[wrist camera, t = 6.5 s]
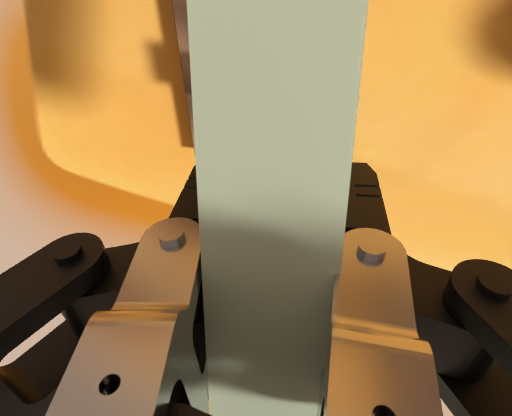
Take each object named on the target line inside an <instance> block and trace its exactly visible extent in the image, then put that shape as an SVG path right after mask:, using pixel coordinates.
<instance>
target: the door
mask: <svg viewBox="0 0 512 416" xmlns="http://www.w3.org/2000/svg"><path fill="white" fill-rule="evenodd" d="M367 10H368V0H187V17H188V35H189V53H190V71H191V89H192V107H193V125H194V143H195V161H196V179H197V197H198V215H199V233H200V251H201V270H202V288H203V306H204V324H205V342H206V357H207V367H208V385H207V393H208V399H209V413H210V415H212V416H317V409H318V400H319V391H320V382H321V375H322V369H324V367H325V361H326V355H327V346H328V337H329V325H330V313H331V301H332V292H333V285H334V277H335V274H341V266H342V256H343V246H344V236H345V226H346V216H347V207H348V197H349V187H350V177H351V167H352V157H353V147H354V138H355V128H356V118H357V108H358V98H359V88H360V79H361V69H362V59H363V49H364V39H365V29H366V19H367Z"/></svg>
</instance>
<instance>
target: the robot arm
mask: <svg viewBox="0 0 512 416" xmlns="http://www.w3.org/2000/svg"><path fill="white" fill-rule="evenodd" d="M60 313H62V315H63V316H64V317H65V319H66V320H65V321H64V322H63V323H62V324H60V325H59V326H58V327H56V328H55V329H54V330H53V331H52V332H50V333H49V334H48V335H46V336H45V337H44V338H43V339H41V340H40V341H39V342H38V343H36V344H35V345H34V346H33V347H31V348H30V349H29V350H28V351H27V352H25V353H24V354H23V355H21V356H20V357H19V358H17V359H16V360H15V361H13V362H12V363H10V364H8V365H5V366H2V367H0V416H212V415H209V414H208V393H207V385H208V367H207V357H206V342H205V324H204V306H203V288H202V270H201V251H200V233H199V215H198V197H197V179H196V165H195V166H194V168H193V170H192V172H191V174H190V176H189V180H187V182H186V184H185V186H184V189H183V190H182V192H181V194H180V196H179V198H178V200H177V202H176V204H175V206H174V208H173V210H172V212H171V214H170V216H169V218H168V219H165V220H162V221H159V222H157V223H155V224H153V225H152V226H151V227H149V228H148V229H147V230H146V231H145V233H144V234H143V236H142V237H141V240H140V242H138V243H134V244H129V245H123V246H118V247H112V248H106V249H105V247H104V245H103V243H102V241H101V240H100V238H99V237H97V236H96V235H93V234H90V233H74V234H70V235H66V236H63V237H61V238H59V239H57V240H55V241H53V242H51V243H50V244H48V245H47V246H45V247H43V248H42V249H40V250H38V251H37V252H35V253H34V254H32V255H31V256H29V257H27V258H26V259H24V260H23V261H21V262H20V263H18V264H16V265H15V266H13V267H11V268H10V269H8V270H7V271H5V272H3V273H2V274H0V362H1V360H2V359H3V358H4V357H5V356H6V355H7V354H8V353H9V352H10V351H12V350H13V349H14V348H16V347H17V346H18V345H20V344H21V343H22V342H23V341H24V340H26V339H27V338H28V337H30V336H31V335H32V334H34V333H35V332H36V331H38V330H39V329H40V328H42V327H43V326H44V325H45V324H46V323H48V322H49V321H51V320H52V319H53V318H54V317H56V316H57V315H58V314H60ZM440 398H441V399H442V400H443V402H444V403H445V404H446V406H447V407H448V408H449V409H450V411H451V412H452V414H453V415H454V416H512V270H511V269H510V268H508V267H506V266H504V265H501V264H498V263H496V262H492V261H488V260H481V259H472V260H466V261H463V262H461V263H459V264H458V265H456V266H455V268H454V269H453V271H452V272H451V271H448V270H445V269H441V268H438V267H435V266H431V265H428V264H425V263H422V262H420V261H417V260H415V259H413V258H412V257H410V256H408V255H407V253H406V250H405V248H404V246H403V245H402V244H401V242H400V241H399V240H398V239H396V238H395V237H394V236H392V235H391V231H390V227H389V223H388V219H387V215H386V210H385V206H384V202H383V198H382V194H381V190H380V188H379V182H378V178H377V174H376V172H375V171H374V170H373V169H372V168H371V167H370V166H369V165H368V164H367V163H352V167H351V177H350V187H349V197H348V207H347V216H346V226H345V236H344V246H343V256H342V266H341V274H335V277H334V285H333V292H332V301H331V313H330V325H329V337H328V346H327V355H326V361H325V367H324V369H322V375H321V382H320V391H319V400H318V409H317V416H443V412H442V406H441V400H440Z"/></svg>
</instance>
